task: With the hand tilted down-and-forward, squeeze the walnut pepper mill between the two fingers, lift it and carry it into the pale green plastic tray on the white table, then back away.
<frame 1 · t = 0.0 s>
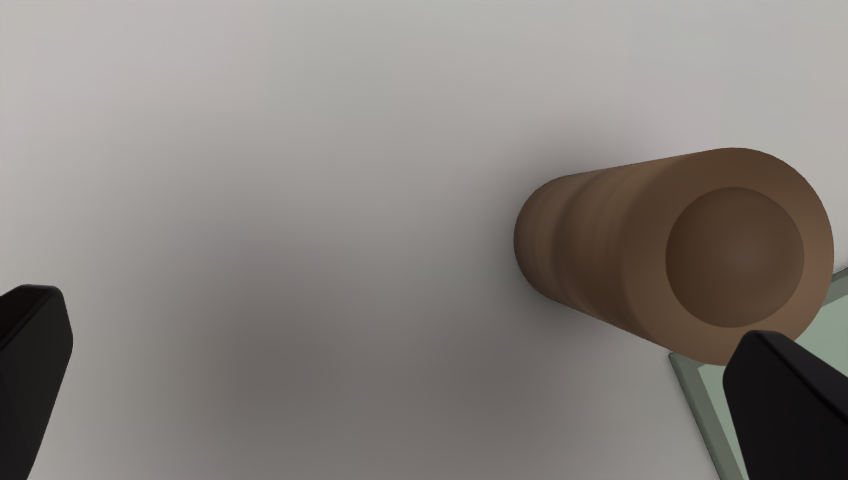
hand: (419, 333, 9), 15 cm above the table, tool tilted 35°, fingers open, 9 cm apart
mill: (577, 239, 24), on the table
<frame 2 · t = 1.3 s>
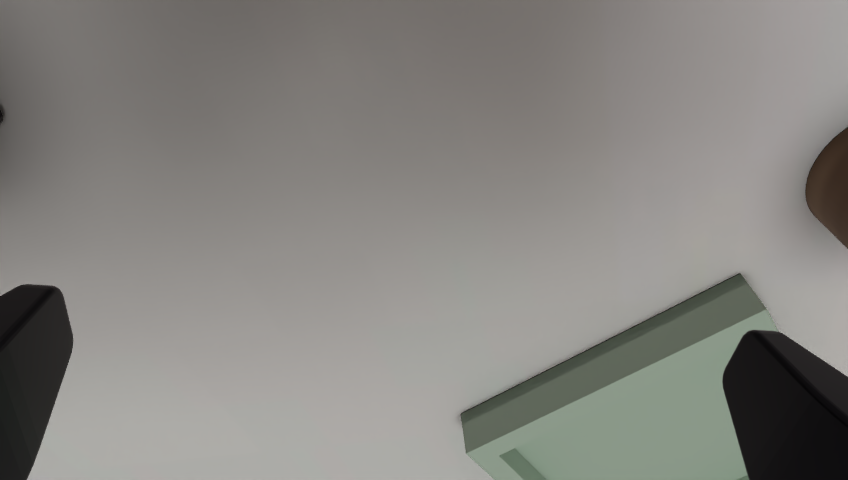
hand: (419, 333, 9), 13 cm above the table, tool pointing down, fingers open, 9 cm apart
tray: (653, 428, 30), on the table
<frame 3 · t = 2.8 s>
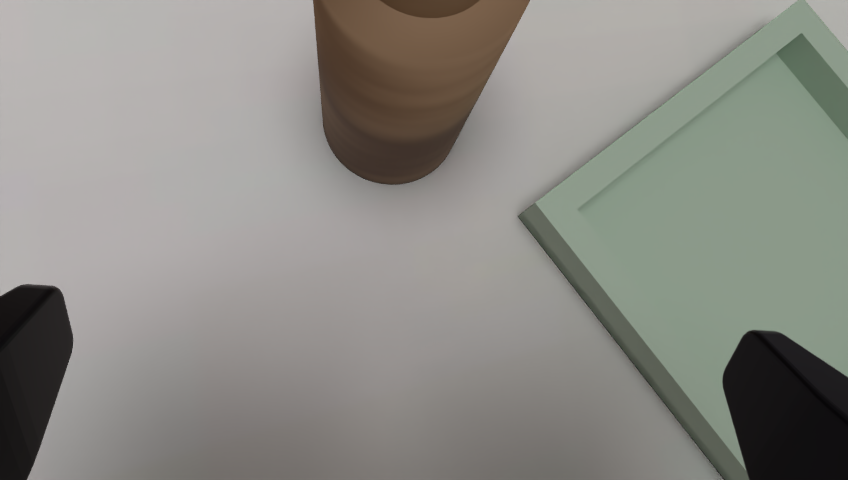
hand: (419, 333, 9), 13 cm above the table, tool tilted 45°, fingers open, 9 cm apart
mill: (390, 119, 23), on the table
tray: (759, 252, 24), on the table
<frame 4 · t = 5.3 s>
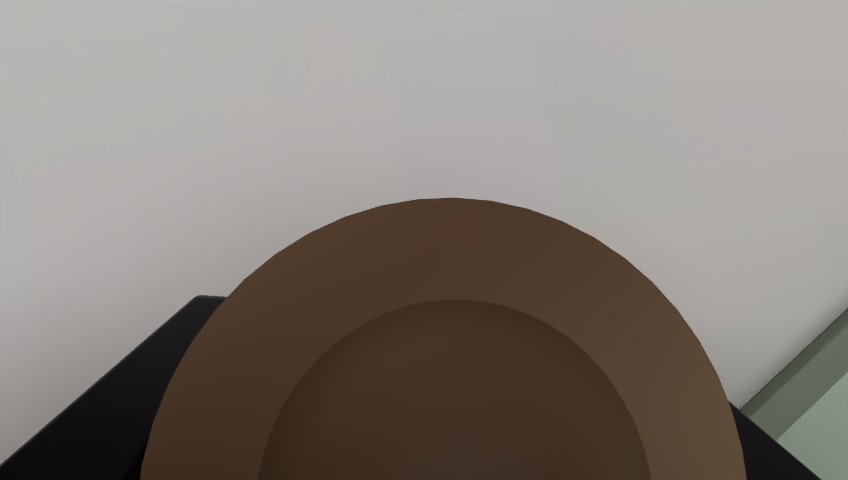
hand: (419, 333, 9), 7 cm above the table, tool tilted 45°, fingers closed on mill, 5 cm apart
mill: (382, 404, 15), on the table, touching gripper
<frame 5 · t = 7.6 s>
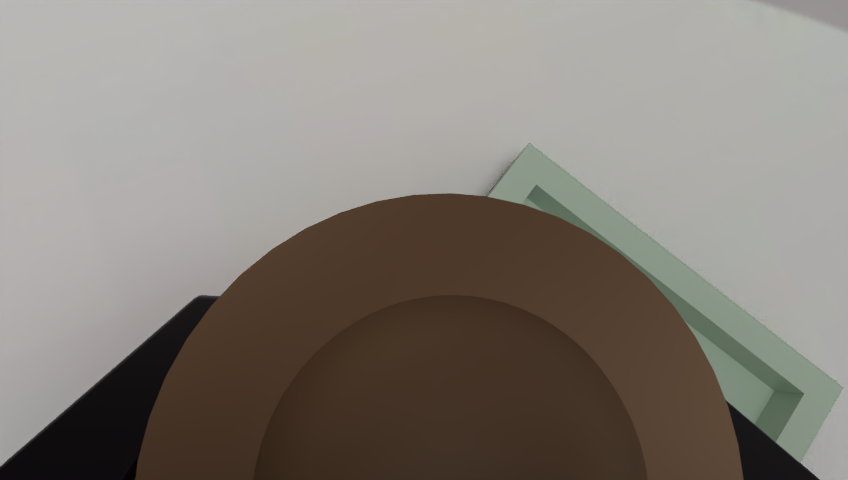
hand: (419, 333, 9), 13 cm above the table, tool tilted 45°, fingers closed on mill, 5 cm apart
mill: (380, 403, 15), point 7 cm above the table, touching gripper
tray: (554, 422, 22), on the table
when the fingers open (8 cm above the table, at t = 9.4 s): mill drops 1 cm, resting on tray.
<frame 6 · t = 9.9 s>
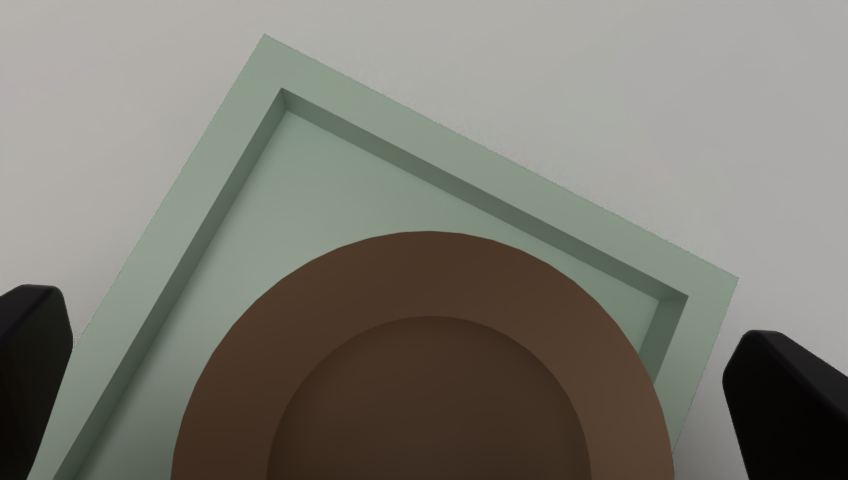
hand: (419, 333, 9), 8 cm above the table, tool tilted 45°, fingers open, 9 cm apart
mill: (380, 402, 16), point 1 cm above the table, touching tray
tray: (379, 399, 17), on the table
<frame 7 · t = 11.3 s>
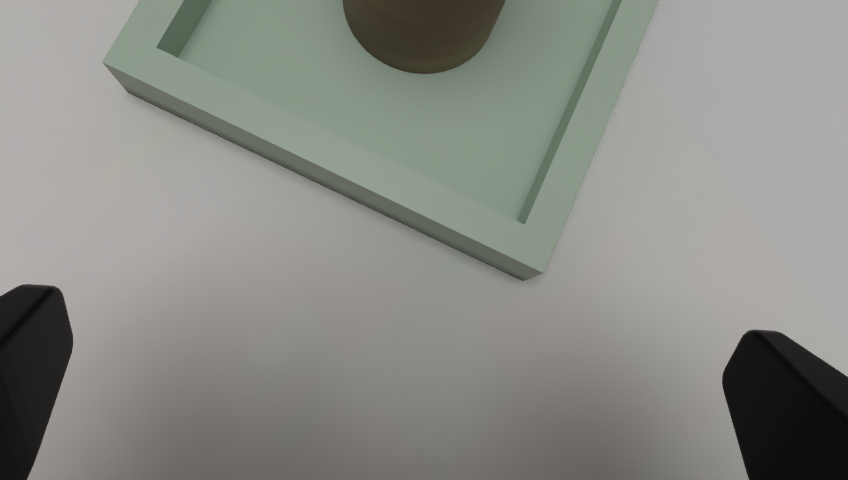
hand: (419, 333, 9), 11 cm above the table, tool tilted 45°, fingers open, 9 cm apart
mill: (420, 0, 20), point 1 cm above the table, touching tray
tray: (418, 9, 21), on the table
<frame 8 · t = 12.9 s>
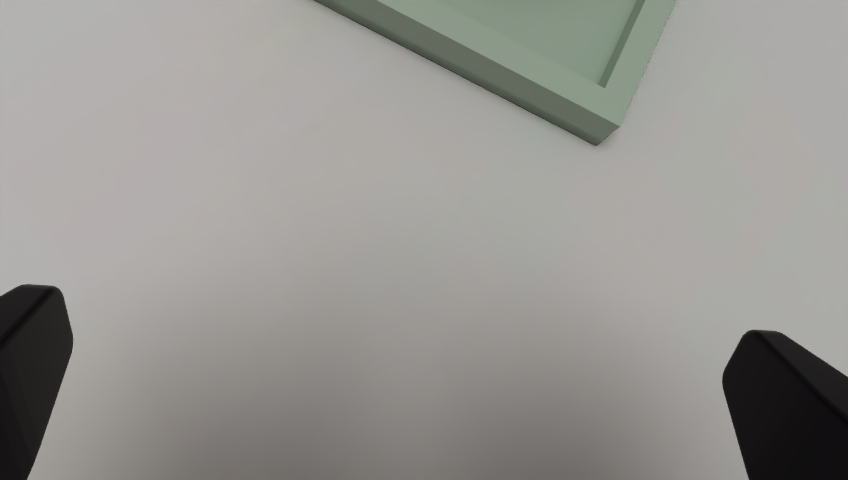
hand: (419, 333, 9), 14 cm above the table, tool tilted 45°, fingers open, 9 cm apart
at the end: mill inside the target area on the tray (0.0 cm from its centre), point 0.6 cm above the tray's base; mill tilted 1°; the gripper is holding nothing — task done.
